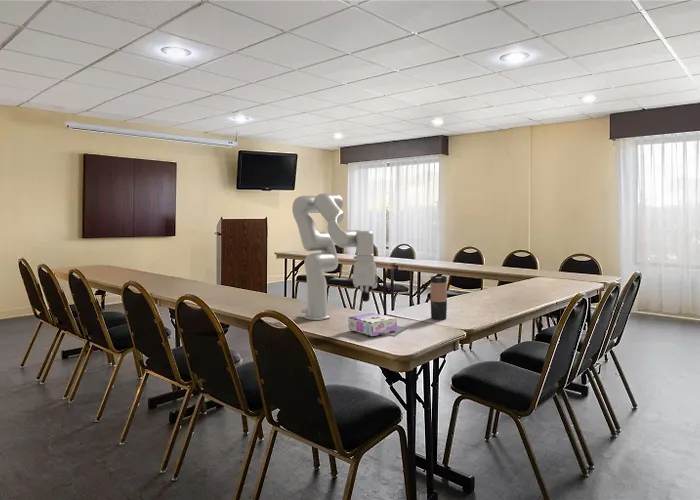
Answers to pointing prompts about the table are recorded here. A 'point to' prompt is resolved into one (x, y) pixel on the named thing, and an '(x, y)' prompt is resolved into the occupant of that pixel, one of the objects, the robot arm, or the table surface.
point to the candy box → (372, 324)
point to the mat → (399, 330)
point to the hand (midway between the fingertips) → (365, 300)
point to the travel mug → (438, 297)
